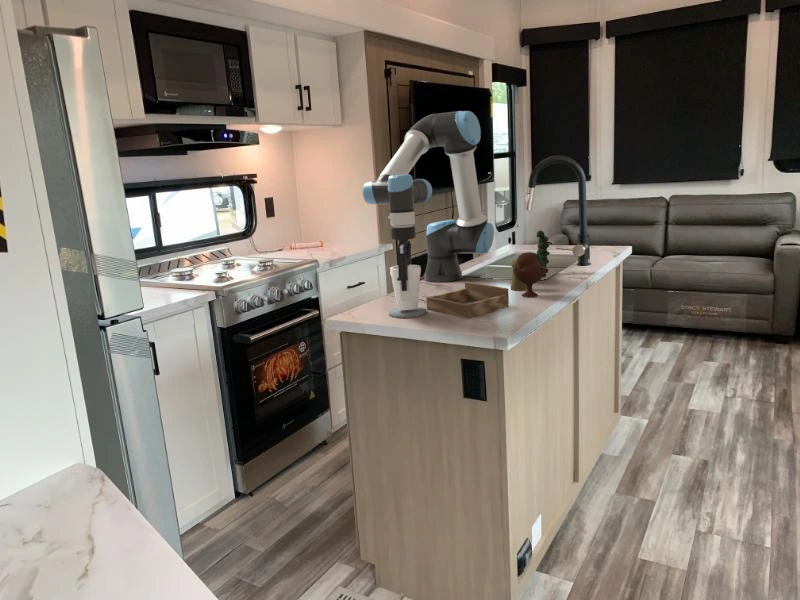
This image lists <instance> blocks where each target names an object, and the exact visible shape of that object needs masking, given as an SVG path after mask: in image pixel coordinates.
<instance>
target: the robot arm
mask: <svg viewBox="0 0 800 600" xmlns="http://www.w3.org/2000/svg"><path fill="white" fill-rule="evenodd" d="M481 133H482V131H481V126H480V121H479V119H478V117H477V116H476V115H475V113H474V112H472V111H470V110H464V111H463V110H457V111H450V112H449V111H448V112H441V113H431V114H429V115H426V116H425V117H423V118H422V119H420V120H418V121H417V122H416V123H415V124H414V125H413V126H411V127H410V128H409V130H408V131H407V132H406V134H405V135H404V139H403V143H402V144H401V145H400V147H399V148H398V150H397V151H396V153H394V155H393V157H392V158H391V159H390V160H389V162H388V163H387V165H386V166H385V168H384V169H383V170H382V172H381V173H380V175H379V176H378V177H377V179H376V180H370V181H367V182H365V183H364V185H363V186H362V187H363V188H362V197H363V199H364V201H365V203H366V204H368V205H376V206H379V205H388V206H389V215H388V216H387V218H388V219H389V220H390V226H391V227H390V237H391V239H392V240H393V241H394V240H395V241H398V245H397V246H396V250H397V263H398V264H397V265H398V273H399V277H398V278H397V281H400V296H401V301H410V295H409V280H408V265H413V264H412V244H411V241H410V240H413V239H415V238H416V237H417V235H416V226H414V225H415V224H416V218H415V217H416V215H415V204H424V203H425V202H427V201H429V200H430V199H431V198H432V194H433V187H432V184H431V183H430V182H429V181H428V180H427V179H424V178H416V179H413V176H412V175H411V174H409V173H410V172H411V171H412V169H413V168H414V166H415V165H416V163H417V162H418V160H419V159H420V157H421V156H422V155H424V154H425V153H427V152H428V151H429V149H432V148H436V147H437V148H439V147H441V148H442V147H443V149H444V153H445V155H447V156H448V157H449V160H450V168H451V172H452V180H453V185H454V192H455V193H454V194H455V198H456V205H457V211H458V219H457V220H456V219H447V220H446V219H445V220H440V221H436V222H430V223H428V225H427V226H426V248H427V264H426V267H425V271H424V274H423V275H424V280H425V281H427V282H434V283H445V282H454V281H458V280H462V279H463V271H462V270H461V267H460V264H459V261H458V254H476V255H478V254H486V253H488V252H489V251H490V249H492V246H493V241H494V236H495V228H494V225H493V223H491V222H488V220H487V216H486V215H484V214H483V213H482V206H481V199H480V192H479V186H478V178H477V171H476V165H475V163H476V162H475V156H474V152H475V151H476V149H477V147H478V146H477V145H478V144H479V143H480V141H481ZM402 275H403V276H402Z"/></svg>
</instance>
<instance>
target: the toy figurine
mask: <svg viewBox="0 0 800 600" xmlns="http://www.w3.org/2000/svg"><path fill="white" fill-rule="evenodd" d="M536 238H538V243H537V251H536V253H535V252H533V251H528V252H526V253H531V254H533V255H534V256H535V257H536V259H538V261H539V262H540V266H543V267H545V268H546V273H545V275H544V276H543V278H546V276H547V274H548V273H549V269H548V268H547V264H549V262H550V261H549V258H548V255H550V251H548V248H550V244H549V243H548V241H549V237H547V236H546V235H545V232H544V231H543V230H538V231H537V232H536Z"/></svg>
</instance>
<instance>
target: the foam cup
mask: <svg viewBox="0 0 800 600" xmlns="http://www.w3.org/2000/svg"><path fill="white" fill-rule="evenodd" d="M389 271H390V272H389V273H390V276H391V282H392V288H393V292H394V297H395V301H396V306H397V307H396V308H398V309H400V310H412V309H416V308H417V307H419V295H420V279H421V273H422V268H421V265H419V264H412V265H408V280H409V295H410V301H401V296H400V281H397V278H398V277H399V273H398V264H397V265H393V266H391V267H389ZM402 276H403V275H402Z"/></svg>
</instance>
